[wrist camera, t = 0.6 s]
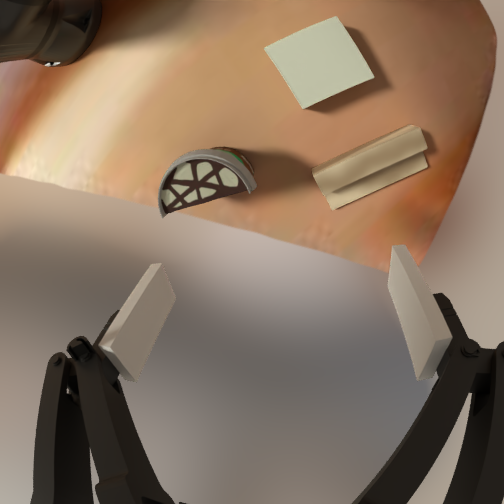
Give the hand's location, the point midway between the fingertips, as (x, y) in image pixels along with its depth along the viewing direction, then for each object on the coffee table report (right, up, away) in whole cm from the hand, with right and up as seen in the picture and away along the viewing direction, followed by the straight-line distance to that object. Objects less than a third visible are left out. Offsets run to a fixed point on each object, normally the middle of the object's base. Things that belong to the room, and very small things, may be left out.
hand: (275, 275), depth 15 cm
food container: (-6, +14, +23) cm, 28 cm away
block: (+7, +25, +14) cm, 30 cm away
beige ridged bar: (+15, +13, +20) cm, 28 cm away
